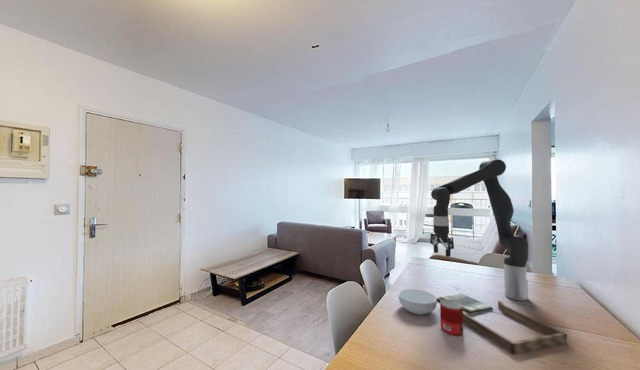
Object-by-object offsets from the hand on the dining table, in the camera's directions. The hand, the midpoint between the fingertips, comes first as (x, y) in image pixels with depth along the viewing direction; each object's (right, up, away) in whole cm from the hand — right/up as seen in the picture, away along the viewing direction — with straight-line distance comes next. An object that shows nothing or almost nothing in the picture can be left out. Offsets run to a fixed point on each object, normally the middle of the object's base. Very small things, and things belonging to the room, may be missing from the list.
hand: (441, 254), depth 129 cm
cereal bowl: (-19, -23, -15) cm, 33 cm away
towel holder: (+10, -22, -30) cm, 38 cm away
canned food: (-12, -22, -32) cm, 41 cm away
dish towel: (+6, -23, -10) cm, 26 cm away
